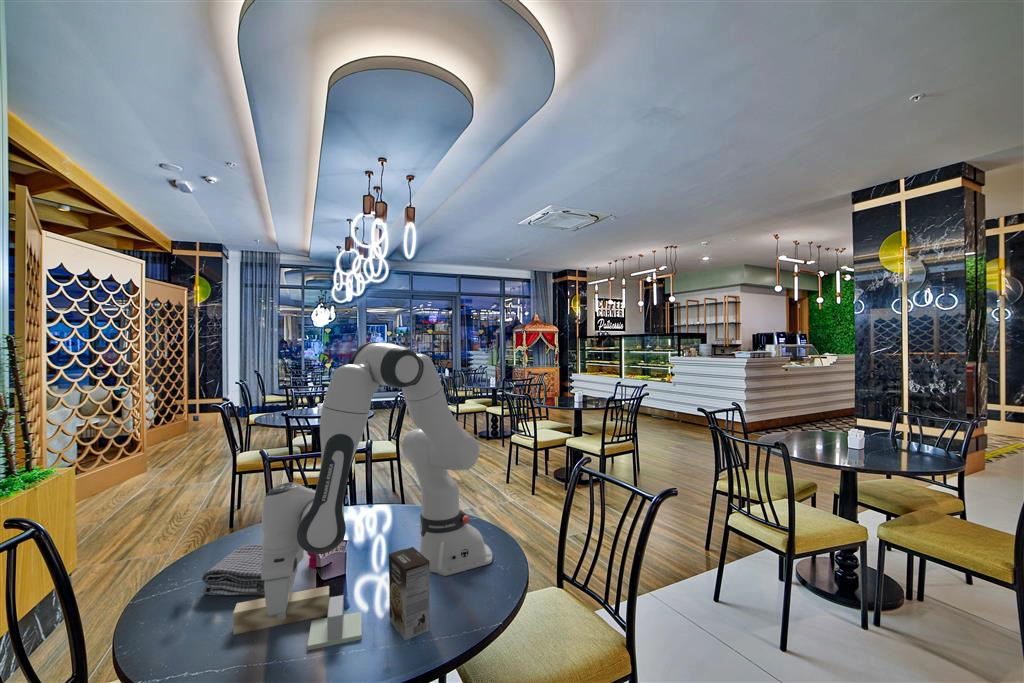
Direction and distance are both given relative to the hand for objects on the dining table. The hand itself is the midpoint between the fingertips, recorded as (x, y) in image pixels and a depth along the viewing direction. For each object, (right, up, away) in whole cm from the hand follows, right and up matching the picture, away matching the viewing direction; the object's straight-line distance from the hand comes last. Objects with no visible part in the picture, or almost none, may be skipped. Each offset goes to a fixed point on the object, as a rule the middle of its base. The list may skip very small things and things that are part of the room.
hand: (283, 611), depth 108 cm
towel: (-17, -2, +16) cm, 24 cm away
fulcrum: (+14, -2, -5) cm, 15 cm away
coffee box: (+30, -2, -3) cm, 31 cm away
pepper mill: (-3, -2, +27) cm, 27 cm away
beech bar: (0, -2, 0) cm, 2 cm away
